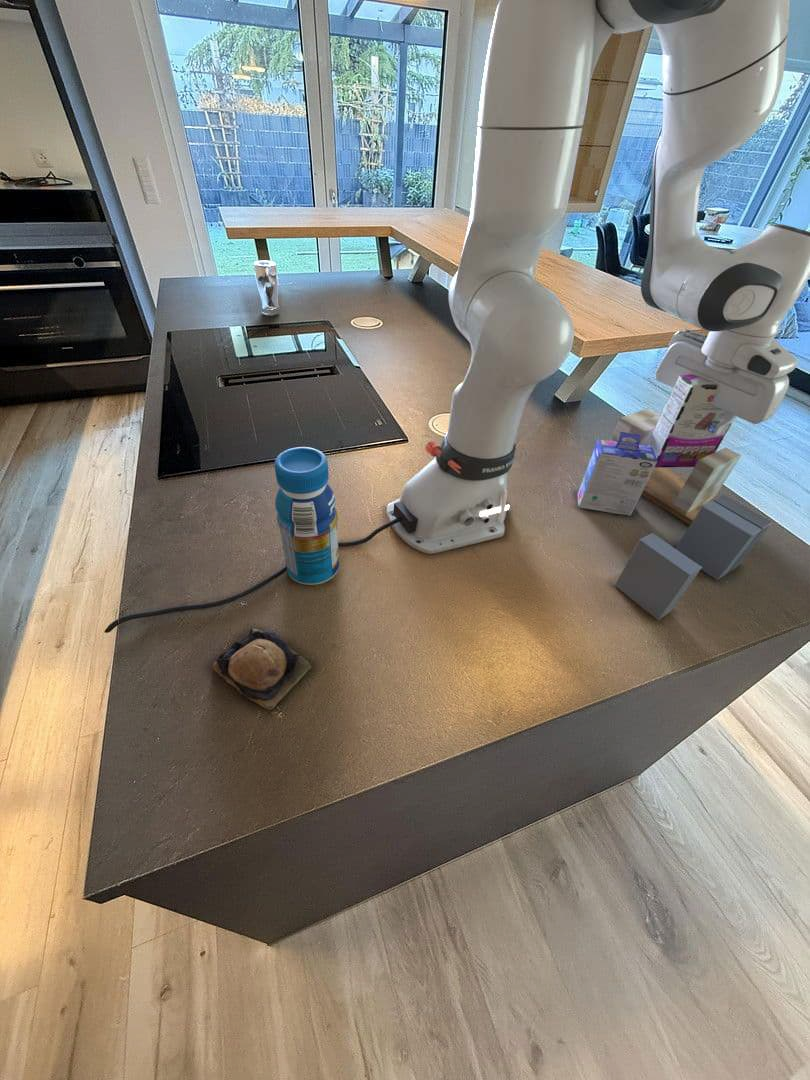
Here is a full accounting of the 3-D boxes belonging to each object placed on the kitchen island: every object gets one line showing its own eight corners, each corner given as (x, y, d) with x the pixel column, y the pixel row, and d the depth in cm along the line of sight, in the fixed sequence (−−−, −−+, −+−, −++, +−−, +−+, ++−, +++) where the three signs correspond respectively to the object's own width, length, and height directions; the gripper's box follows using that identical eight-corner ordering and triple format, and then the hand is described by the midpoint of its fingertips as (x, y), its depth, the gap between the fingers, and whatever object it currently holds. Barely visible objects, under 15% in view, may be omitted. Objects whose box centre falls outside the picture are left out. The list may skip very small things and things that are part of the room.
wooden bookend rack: (695, 528, 85) (727, 479, 77) (597, 466, 99) (616, 418, 91) (727, 510, 90) (761, 461, 82) (629, 453, 103) (650, 406, 96)
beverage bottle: (274, 571, 71) (252, 462, 58) (311, 541, 77) (299, 435, 63) (315, 596, 68) (302, 487, 55) (351, 563, 74) (347, 457, 60)
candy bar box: (693, 453, 92) (738, 373, 81) (707, 467, 88) (756, 386, 77) (640, 453, 91) (678, 372, 80) (652, 468, 87) (694, 385, 76)
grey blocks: (657, 620, 69) (689, 575, 62) (614, 585, 73) (639, 539, 66) (737, 566, 78) (772, 522, 71) (694, 538, 83) (723, 494, 76)
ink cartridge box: (627, 499, 90) (659, 434, 80) (631, 517, 86) (666, 450, 76) (576, 491, 91) (601, 425, 81) (578, 508, 87) (605, 441, 77)
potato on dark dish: (315, 666, 60) (313, 650, 57) (267, 716, 55) (262, 701, 52) (258, 625, 64) (253, 609, 61) (207, 669, 59) (200, 652, 56)
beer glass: (257, 315, 155) (249, 264, 145) (265, 308, 160) (258, 259, 150) (277, 317, 155) (271, 266, 144) (284, 311, 160) (279, 261, 149)
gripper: (667, 328, 79) (635, 402, 89) (790, 373, 67) (738, 454, 77) (688, 323, 82) (655, 396, 92) (810, 365, 70) (757, 444, 79)
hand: (693, 422), depth 84 cm, fingers closed on candy bar box, 6 cm apart
